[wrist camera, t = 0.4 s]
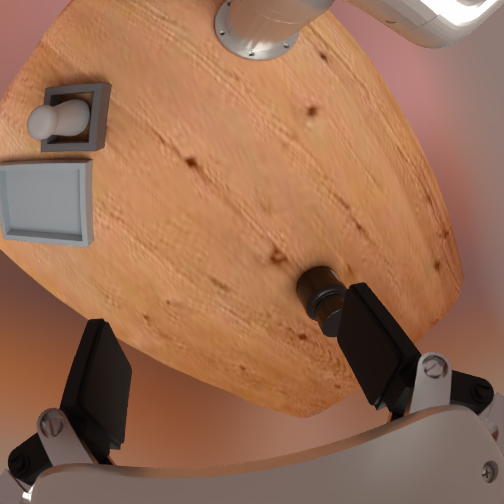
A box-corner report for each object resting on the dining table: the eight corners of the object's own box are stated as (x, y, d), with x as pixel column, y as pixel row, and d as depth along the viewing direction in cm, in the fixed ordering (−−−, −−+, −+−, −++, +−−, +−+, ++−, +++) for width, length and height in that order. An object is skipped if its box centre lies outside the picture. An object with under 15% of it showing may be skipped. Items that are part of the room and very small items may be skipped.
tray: (4, 162, 32) (-5, 166, 29) (92, 159, 36) (85, 163, 34) (11, 232, 38) (3, 239, 35) (93, 239, 43) (88, 247, 40)
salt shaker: (69, 97, 31) (25, 97, 19) (99, 100, 32) (60, 100, 21) (61, 132, 33) (16, 144, 22) (90, 136, 35) (51, 149, 23)
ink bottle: (330, 301, 59) (353, 339, 48) (292, 304, 57) (311, 346, 47) (340, 262, 54) (369, 298, 44) (299, 264, 52) (322, 304, 42)
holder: (57, 88, 29) (45, 88, 26) (111, 84, 32) (103, 82, 28) (52, 147, 34) (40, 152, 30) (104, 147, 36) (95, 151, 33)
